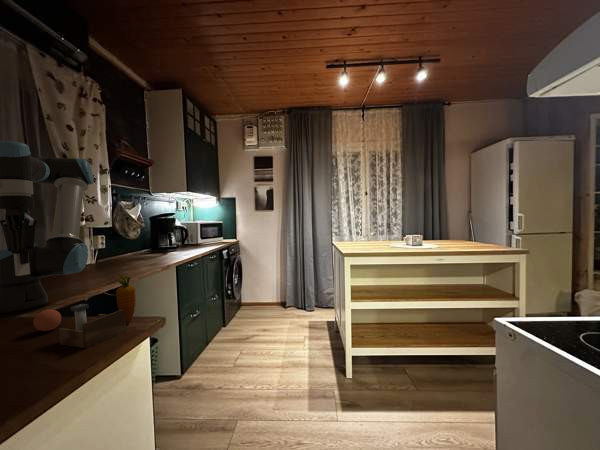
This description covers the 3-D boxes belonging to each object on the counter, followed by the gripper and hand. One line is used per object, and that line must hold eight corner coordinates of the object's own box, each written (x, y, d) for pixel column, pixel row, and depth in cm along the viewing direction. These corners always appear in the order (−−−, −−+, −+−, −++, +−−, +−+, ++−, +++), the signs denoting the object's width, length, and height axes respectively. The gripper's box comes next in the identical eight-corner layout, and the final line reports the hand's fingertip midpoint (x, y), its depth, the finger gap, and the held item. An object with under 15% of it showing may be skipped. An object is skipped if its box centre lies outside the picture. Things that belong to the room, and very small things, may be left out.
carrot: (140, 323, 82) (136, 273, 82) (120, 329, 79) (116, 277, 78) (135, 319, 86) (131, 271, 85) (116, 324, 82) (112, 274, 82)
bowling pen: (60, 344, 71) (58, 321, 71) (101, 327, 81) (99, 307, 81) (86, 348, 68) (84, 324, 67) (126, 330, 78) (124, 309, 78)
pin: (73, 336, 75) (70, 307, 75) (83, 332, 78) (81, 303, 77) (80, 337, 74) (77, 307, 74) (90, 333, 77) (88, 304, 76)
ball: (40, 328, 82) (39, 308, 82) (65, 324, 84) (64, 305, 84) (29, 336, 76) (27, 315, 76) (56, 332, 79) (55, 311, 78)
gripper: (-15, 196, 80) (-8, 277, 81) (13, 193, 76) (20, 278, 77) (18, 197, 87) (24, 271, 88) (45, 194, 83) (52, 272, 84)
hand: (22, 274), depth 83 cm, fingers closed
